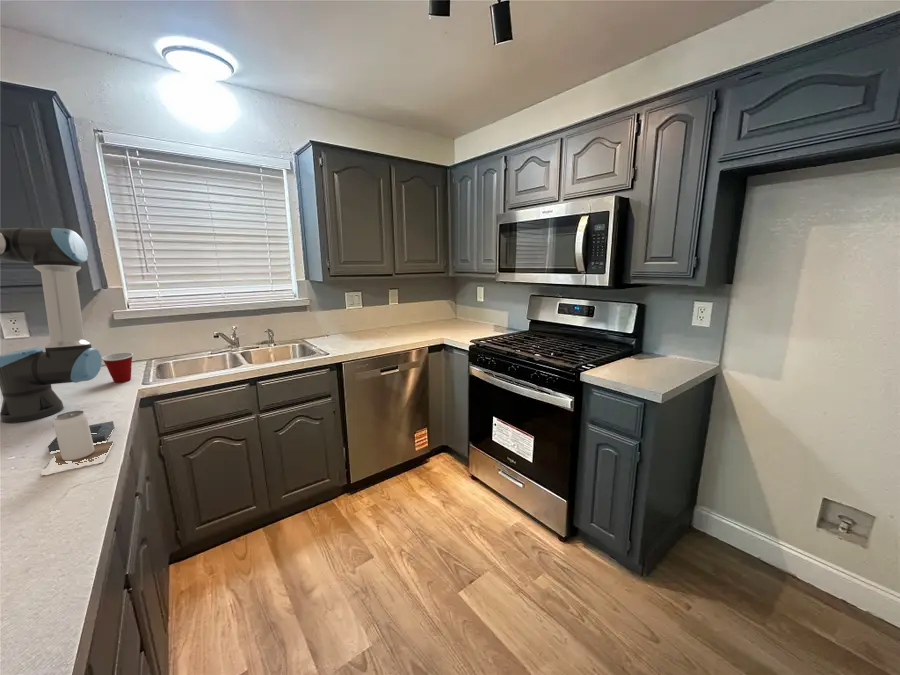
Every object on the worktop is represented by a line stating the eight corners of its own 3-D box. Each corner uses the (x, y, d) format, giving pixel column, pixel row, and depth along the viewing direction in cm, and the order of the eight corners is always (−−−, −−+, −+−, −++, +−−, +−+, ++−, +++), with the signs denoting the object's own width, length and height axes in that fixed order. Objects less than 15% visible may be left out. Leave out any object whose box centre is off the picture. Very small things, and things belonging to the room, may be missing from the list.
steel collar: (63, 437, 116) (61, 430, 116) (114, 428, 122) (112, 421, 122) (50, 454, 106) (47, 446, 106) (106, 443, 113) (104, 435, 112)
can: (91, 447, 108) (82, 408, 106) (97, 453, 105) (88, 413, 102) (59, 456, 103) (49, 416, 100) (65, 464, 99) (54, 421, 97)
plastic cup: (107, 386, 162) (101, 359, 159) (105, 381, 169) (100, 355, 167) (139, 380, 170) (134, 355, 167) (136, 375, 177) (131, 350, 174)
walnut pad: (57, 455, 106) (56, 452, 105) (113, 444, 112) (112, 441, 112) (41, 476, 96) (40, 472, 96) (103, 462, 102) (103, 459, 102)
